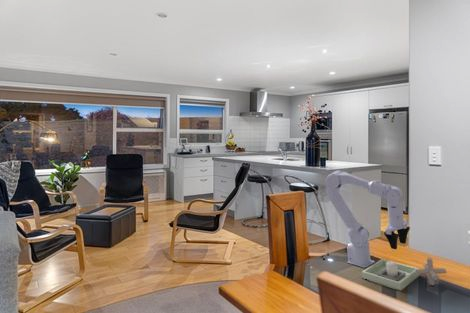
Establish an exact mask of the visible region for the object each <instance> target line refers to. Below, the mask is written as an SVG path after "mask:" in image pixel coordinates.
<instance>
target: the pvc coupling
mask: <svg viewBox="0 0 470 313" xmlns="http://www.w3.org/2000/svg"><path fill="white" fill-rule="evenodd" d="M397 263H398V262H396V261H391V260H388V262H386V269H387V276H388V277H392V278H396V277H397V276H398V271H397Z"/></svg>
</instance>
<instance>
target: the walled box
mask: <svg viewBox="0 0 470 313" xmlns="http://www.w3.org/2000/svg"><path fill="white" fill-rule="evenodd" d="M388 261H389V260H388V259H383V258H381V259H379V260H378V261H375V262H374V263H373V264H371V265H369V266H368V267H366V268H365V269H363V270H362V271H361V278H362V277H363V278H366V279H368V280H369V281H368V280H367V281H368V282H372V283H375V284H378V285H381V286H384V287H387V288H389V289H392V290H396V291H400V292H401V291H402V290H404V289H405V288H406V287H408V285H411V284H412V283H413V282H414V281H416V279H418V278H419V277H421V274H416V269H420V268H418V267H416V266H411V265H407V264H403V263H400V262H396V263H397V271H398V276H397V277H396V278H392V277H388V276H387V269H386V262H388Z"/></svg>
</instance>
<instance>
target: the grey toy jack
mask: <svg viewBox="0 0 470 313" xmlns="http://www.w3.org/2000/svg"><path fill="white" fill-rule="evenodd" d="M416 274H420V275H428V284H429V285H431V286H435V281H437V280H439V279H440V278H439V276H438V274H447V270H446V268H444V267H443V268H434V260H433V258H432V257H427V258H426V263H423V268H419V269H416Z"/></svg>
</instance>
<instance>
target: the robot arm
mask: <svg viewBox="0 0 470 313" xmlns="http://www.w3.org/2000/svg"><path fill="white" fill-rule="evenodd" d="M324 184H325V190H326V196H327V197H328V199H329V201H330V202H331V204H332V206H333V207H334V209H335V210H336V211H337V213H338V215H339V216H340V218H341V220H342V222H343V223H344V225H345V226H346V228H347V234H348V236H349V241H350V242H349V243H348V244H347V245H346V246H347V247H346V251H347V252H346V253H347V263H348V264H351V265H354V266H358V267H361V268H365V269H367V268H368V267H370V266H371V265H373V264H375V263H376V261H375V260H372V259H371V250H370V242H369V241H368V239H369V238H370V232H369V230H368V229H367V228H365V226H363V224H362V223H360V222H358V220H357V219H356V217H355V215H354V214H353V213H352V211H351V209H350V207H349V206H348V205H347V203H346V201H345V200H344V198H343V196H342V195H341V194H340V190H341V187H342V186H343V185H347V184H350V185H353V186H357V187H359V188H363V189H366V190H367V191H368V193H370V194H373V195H375V196H378V197H380V198H384V199H385V200H387V202H386V203H387V205H386V206H387V215H388V216H387V217H388V226H387V227H386V228H385V231H384V232H383V235H384V236H385V238H386V239H387V241H388V243H389V245H390V249H393V250H397V249H398V240H399V243H400V244H404V245H405V244H406V243H407V237H408V233H409V231H410V230H411V227H410V226H408V221H407V220H404V211H403V210H404V208H403V207H404V206H403V201H402V196H403V191H402V189H401V188H400V187H398V186H397V185H391V184H386V183H382V182H380V180H378V179H376V180H374V179H373V180H372V181H369V180H366V179H364V178H360V177H359V176H356V175H353V174H351V173H348V172H346V171H342V170H339V169H338V170H335V171H333V172H332V173H329V174H328V175H327V176H326V178H325V181H324ZM395 231H396V232H397V233H395Z"/></svg>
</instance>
